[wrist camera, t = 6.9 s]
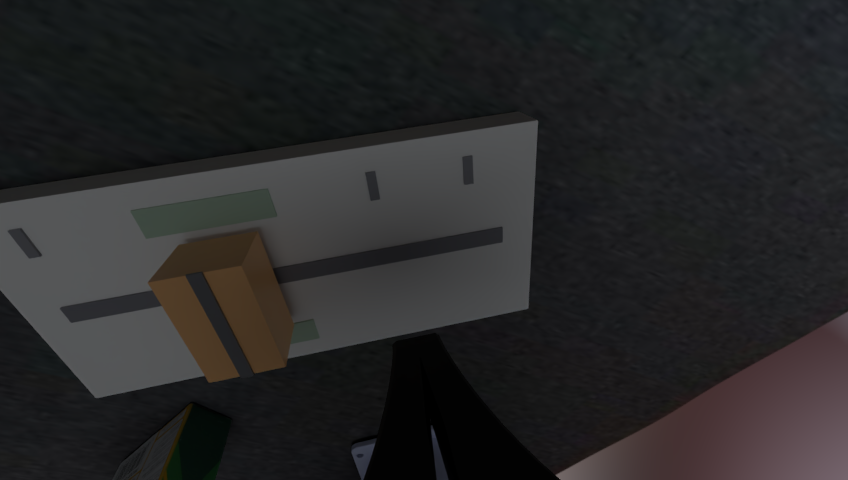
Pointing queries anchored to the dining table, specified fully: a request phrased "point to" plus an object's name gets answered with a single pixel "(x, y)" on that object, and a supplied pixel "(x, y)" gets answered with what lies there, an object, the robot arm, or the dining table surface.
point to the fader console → (280, 242)
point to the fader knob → (226, 305)
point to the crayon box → (180, 448)
